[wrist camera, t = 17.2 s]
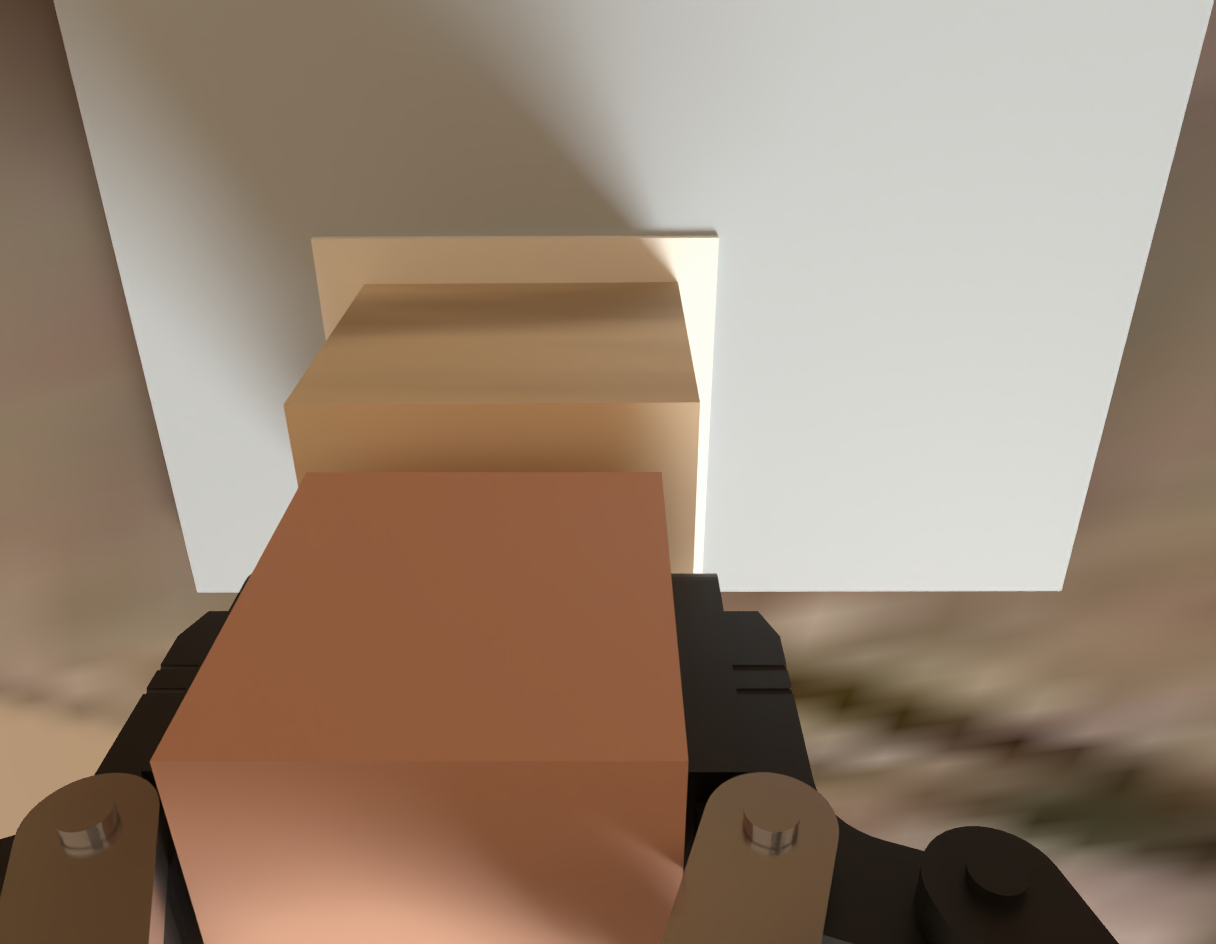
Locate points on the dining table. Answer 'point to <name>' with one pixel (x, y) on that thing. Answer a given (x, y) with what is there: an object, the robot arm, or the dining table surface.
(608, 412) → the beech block
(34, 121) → the dining table surface
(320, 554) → the terracotta block
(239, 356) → the build board
